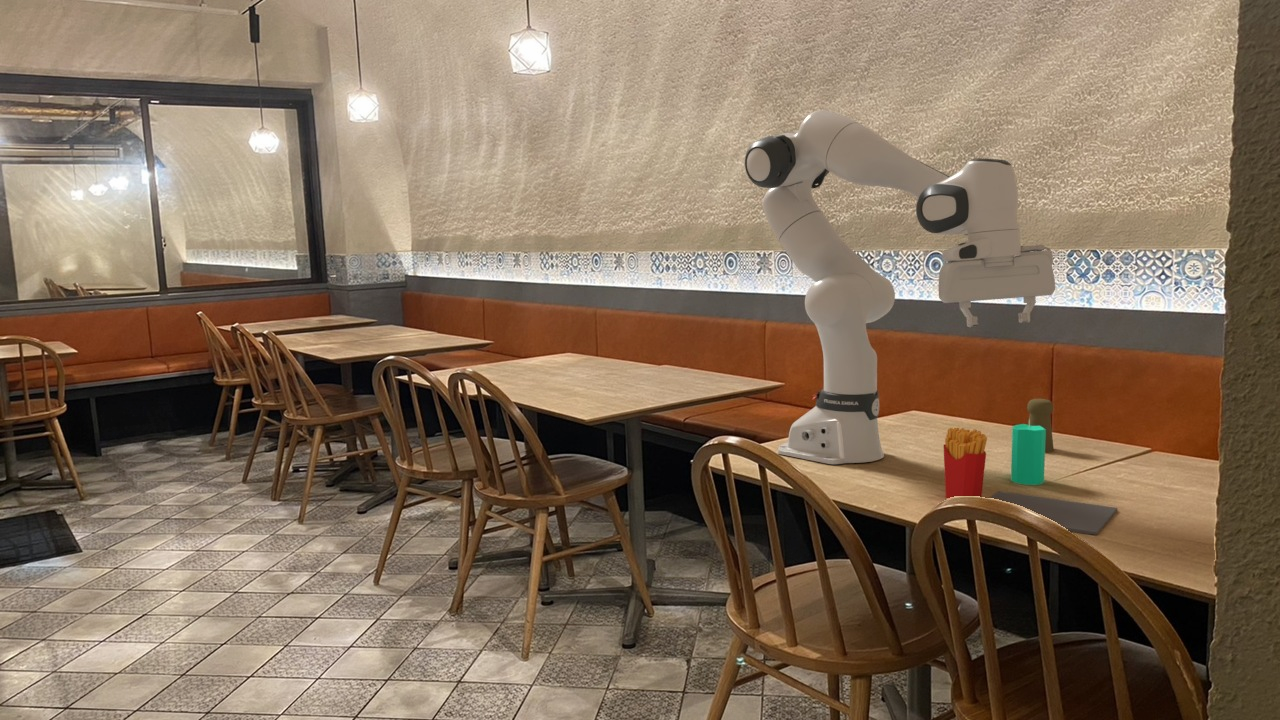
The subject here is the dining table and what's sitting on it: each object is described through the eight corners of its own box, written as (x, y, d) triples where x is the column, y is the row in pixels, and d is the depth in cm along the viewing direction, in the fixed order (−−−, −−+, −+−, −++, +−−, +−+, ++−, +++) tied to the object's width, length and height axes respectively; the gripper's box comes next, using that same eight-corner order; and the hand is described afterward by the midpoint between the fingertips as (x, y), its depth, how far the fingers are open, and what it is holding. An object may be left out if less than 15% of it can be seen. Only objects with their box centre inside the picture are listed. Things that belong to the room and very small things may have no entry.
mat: (970, 515, 169) (970, 512, 169) (997, 493, 181) (998, 491, 181) (1096, 535, 157) (1096, 532, 157) (1117, 510, 170) (1117, 507, 170)
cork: (1058, 452, 212) (1060, 401, 211) (1029, 452, 212) (1031, 402, 211) (1047, 445, 218) (1049, 396, 217) (1019, 446, 218) (1021, 397, 217)
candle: (1040, 486, 186) (1043, 423, 184) (1007, 482, 189) (1009, 420, 187) (1046, 479, 191) (1049, 417, 189) (1014, 475, 194) (1016, 415, 192)
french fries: (937, 496, 180) (939, 426, 179) (956, 493, 182) (958, 424, 180) (972, 509, 172) (974, 436, 170) (991, 506, 174) (994, 433, 172)
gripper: (1044, 244, 182) (1048, 319, 182) (933, 253, 182) (937, 328, 182) (1059, 242, 175) (1063, 320, 176) (944, 251, 175) (948, 329, 176)
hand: (998, 324), depth 179 cm, fingers open, 8 cm apart
